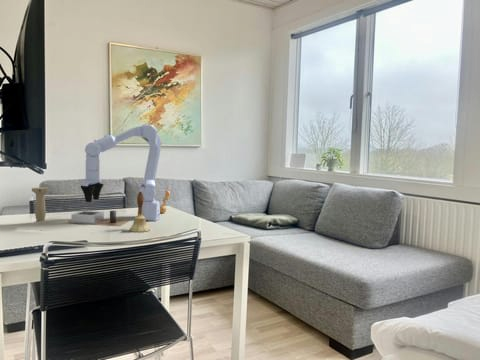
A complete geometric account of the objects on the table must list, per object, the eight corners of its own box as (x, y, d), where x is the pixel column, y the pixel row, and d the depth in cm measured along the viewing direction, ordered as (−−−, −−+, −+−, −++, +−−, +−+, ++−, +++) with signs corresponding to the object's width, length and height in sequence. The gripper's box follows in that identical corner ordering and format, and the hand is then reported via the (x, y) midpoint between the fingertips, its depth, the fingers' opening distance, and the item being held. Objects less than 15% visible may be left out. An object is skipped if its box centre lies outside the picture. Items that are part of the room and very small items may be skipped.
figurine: (156, 211, 208) (157, 188, 207) (167, 211, 211) (168, 188, 210) (160, 214, 201) (161, 190, 200) (172, 214, 204) (172, 190, 202)
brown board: (130, 222, 179) (130, 209, 179) (120, 228, 166) (120, 214, 166) (82, 219, 180) (82, 206, 180) (68, 225, 167) (68, 211, 167)
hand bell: (127, 228, 167) (128, 190, 166) (147, 227, 171) (148, 190, 169) (131, 232, 160) (131, 193, 158) (151, 231, 163) (152, 193, 162)
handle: (48, 223, 170) (48, 188, 168) (31, 224, 167) (31, 188, 166) (49, 221, 174) (49, 187, 173) (32, 222, 172) (32, 187, 170)
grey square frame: (103, 219, 178) (104, 211, 178) (94, 224, 168) (94, 215, 168) (82, 218, 179) (82, 210, 178) (71, 222, 169) (71, 214, 168)
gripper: (90, 168, 183) (90, 198, 184) (75, 170, 169) (75, 202, 170) (105, 169, 183) (105, 198, 184) (92, 171, 168) (92, 203, 169)
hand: (92, 200), depth 177 cm, fingers open, 7 cm apart
